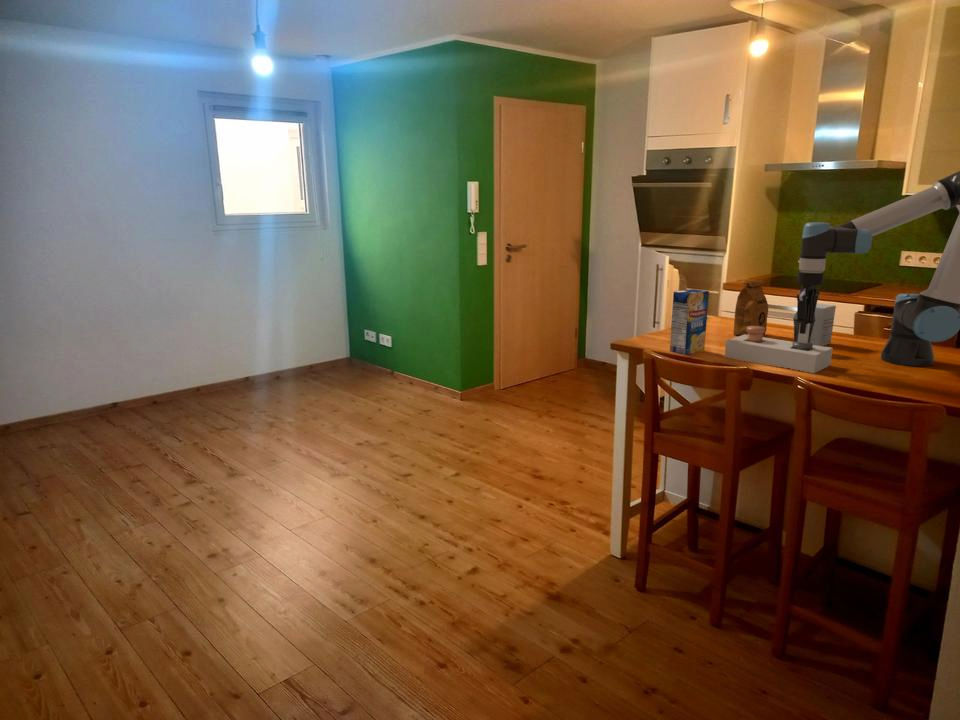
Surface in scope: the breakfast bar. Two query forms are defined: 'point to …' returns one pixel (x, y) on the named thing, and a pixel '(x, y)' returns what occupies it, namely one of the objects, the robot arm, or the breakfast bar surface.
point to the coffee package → (750, 308)
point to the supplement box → (823, 324)
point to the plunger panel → (778, 354)
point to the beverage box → (689, 321)
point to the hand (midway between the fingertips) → (802, 342)
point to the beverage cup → (796, 328)
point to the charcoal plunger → (802, 346)
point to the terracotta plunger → (755, 333)
